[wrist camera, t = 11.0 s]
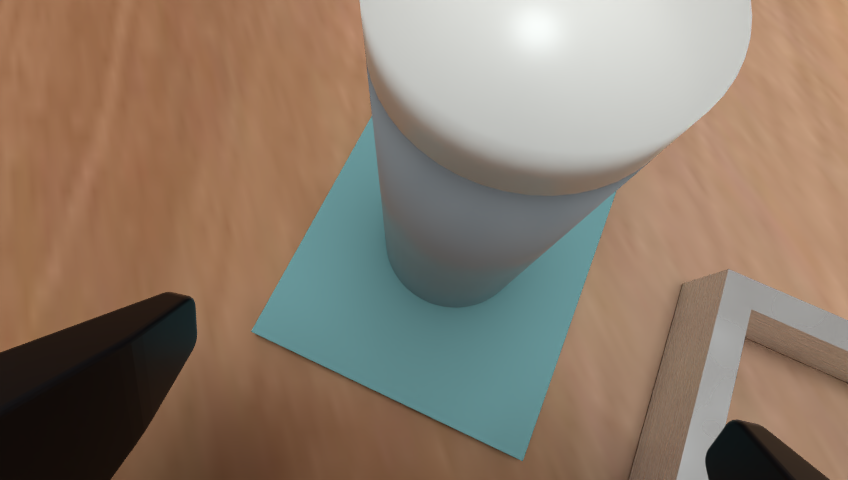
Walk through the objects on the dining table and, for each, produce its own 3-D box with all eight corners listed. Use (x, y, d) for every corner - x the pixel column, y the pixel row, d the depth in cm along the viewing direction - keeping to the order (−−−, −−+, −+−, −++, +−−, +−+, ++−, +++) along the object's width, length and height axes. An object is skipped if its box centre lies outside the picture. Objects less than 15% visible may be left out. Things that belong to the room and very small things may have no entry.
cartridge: (527, 304, 16) (800, 150, 5) (387, 310, 16) (358, 158, 5) (513, 176, 18) (703, -159, 7) (384, 179, 17) (357, -168, 6)
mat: (518, 458, 15) (522, 461, 15) (256, 332, 16) (251, 331, 15) (620, 166, 19) (627, 159, 18) (400, 74, 19) (400, 64, 19)
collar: (873, 639, 14) (968, 691, 12) (618, 516, 15) (660, 543, 13) (903, 379, 17) (987, 380, 14) (682, 283, 17) (728, 268, 15)
